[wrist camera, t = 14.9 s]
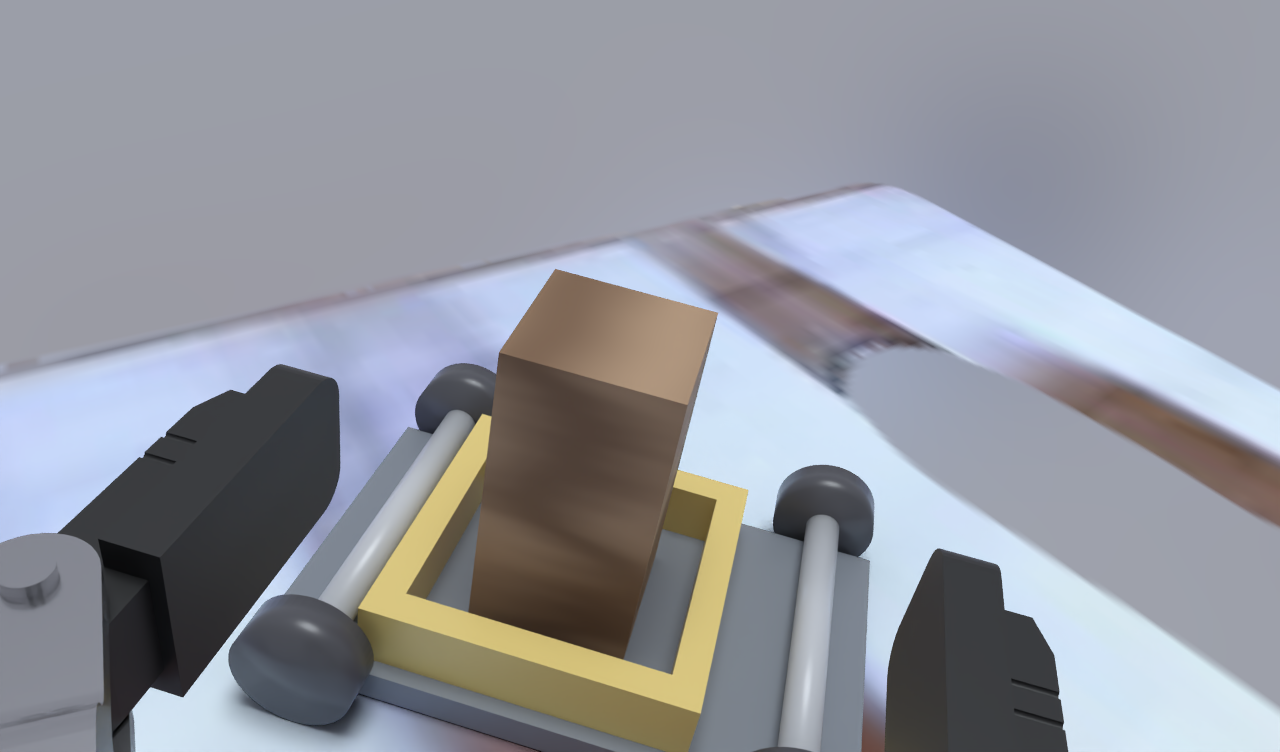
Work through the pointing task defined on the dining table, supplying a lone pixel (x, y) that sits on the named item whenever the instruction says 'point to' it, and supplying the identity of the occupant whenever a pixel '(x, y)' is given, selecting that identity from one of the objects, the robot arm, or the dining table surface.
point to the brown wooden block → (584, 458)
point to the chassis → (562, 672)
